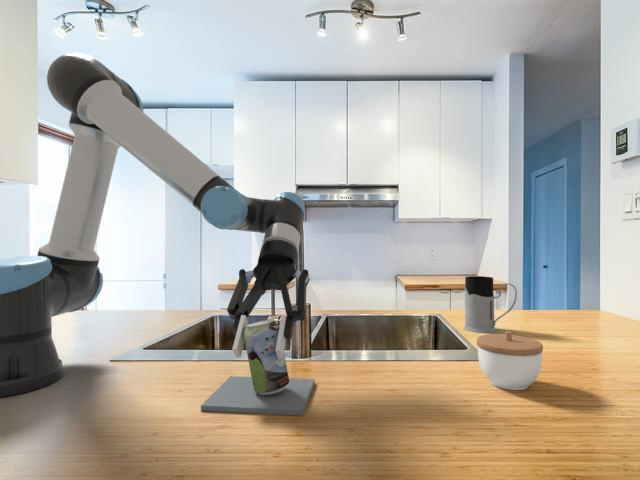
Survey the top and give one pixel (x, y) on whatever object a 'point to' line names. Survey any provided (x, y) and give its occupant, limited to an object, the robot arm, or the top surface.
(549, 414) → the top surface
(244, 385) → the rubber mat
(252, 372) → the beverage can
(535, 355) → the lidded jar
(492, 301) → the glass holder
